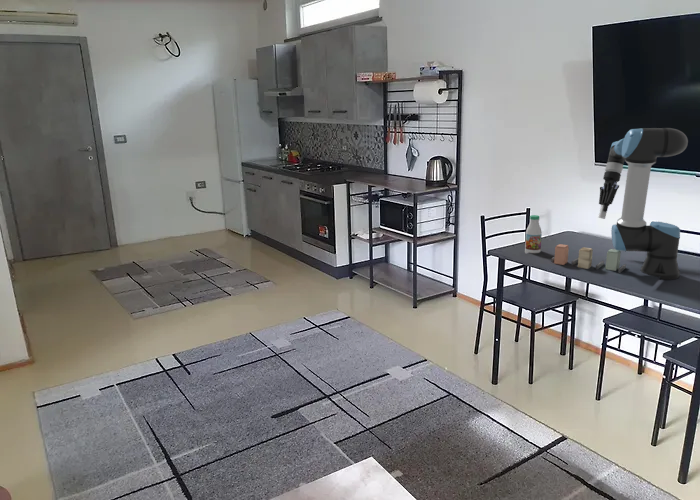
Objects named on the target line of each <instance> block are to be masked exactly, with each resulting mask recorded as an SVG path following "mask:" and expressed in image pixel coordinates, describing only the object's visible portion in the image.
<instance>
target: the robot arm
mask: <svg viewBox="0 0 700 500" xmlns="http://www.w3.org/2000/svg"><path fill="white" fill-rule="evenodd" d="M688 143H689V139H688V137H687V135H686V134H685V133H684V132H683V131H681V130H679V129H676V128H671V127H662V128H659V127H658V128H657V127H651V128H649V127H647V128H646V127H643V128H631V129H629V130H628V131H627V132H626V134H625V135H624V137H623V138H622V139H619V140H617V141H613V142H612V143H611V146H610V148H609V153H608V157H607V158H608V159H607V162H606V165H605V169H604V170H605V171H604V174H603V180H604V182H603V185H602V186H600V187H599V199H598V200H599V201H598V205H600V208H599V209H600V210H599V214H598V217H597V218H599V219H603V220H605V219H606V217H607V212H608V209H609V206H610V205H612V204H613V202H614V199H615V197H616V194H617V192H618V190H619V188H620V185H619V184H618V182H619V181H620V180H621V176H622V175H621V174H622V171H623V169H624V168H623V166H624V162H626V164H627V173H626V180H625V189H624V194H623V203H622V211H621V215H620V217H619V218H618V219H617V221H616V223H615V224H612V226H611V230H610V231H611V242H612V246H613V249H616V250H618V251H621V252H639V253H640V252H645V253H646V257H645V260H644V262H643V263H642V265H641V266H640V272H641V273H643V274H645V275H649V276H652V277H658V278H659V280H666V281H667V280H671V281H672V280H676V279H679V277H680V272H681V271H680V269H679V264H678V252H679V246H680V245H679V244H680V238H681V228H680V227H678V226H677V225H675V224H672V223H669V222H668V223H667V222H662V221H651V222H650V223H649V225H647V221H645V219H644V218H645V217H644V215H645V209H646V203H647V195H648V190H649V183H650V177H651V171H652V170H651V168H652V166H653V165H655V164H656V163H657V158H668V157H673V156H676V155H680V154H681V153H683V152H684V151H685V150H686V149H687V147H688Z"/></svg>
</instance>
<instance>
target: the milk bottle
mask: <svg viewBox="0 0 700 500" xmlns="http://www.w3.org/2000/svg"><path fill="white" fill-rule="evenodd" d="M529 221H530V222H529V224H528V226H527V228H526V231H525V241H524V243H525V245H524V253H525V254H526V255H527V254H529V253H530V254H539V253H541V251H542V250H541V249H542V228H541V225H540V215H537V214H536V215H535V214H532V215H530V216H529Z"/></svg>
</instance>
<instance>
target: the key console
mask: <svg viewBox="0 0 700 500" xmlns="http://www.w3.org/2000/svg"><path fill="white" fill-rule="evenodd" d="M578 258H579V256H578V257H577V258H575V259H573V260H572V261H571V266H575V265H576V264H578ZM554 259H555V255H554V256H553V257H552V258H551V259H550V261H551V263H554ZM604 264H605V261H604V260H602V261H600V262H598V264H596V265H595V270H598V269H600V268H601V267H603V266H604ZM626 268H627V264H626V263H625V264H623V265H621V266H619V269H618V270H617V272H618V274H621V273H622V272H623V271H624V270H625V269H626Z"/></svg>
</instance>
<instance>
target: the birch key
mask: <svg viewBox="0 0 700 500" xmlns="http://www.w3.org/2000/svg"><path fill="white" fill-rule="evenodd" d="M593 250H594V249H593V248H590V247H581V248H579V250H578V257H579V258H578V257H577V258H578V262H577V268H581V269H586V270H588V269H590V268H591V267H592V264H593V263H592V262H593Z"/></svg>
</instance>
